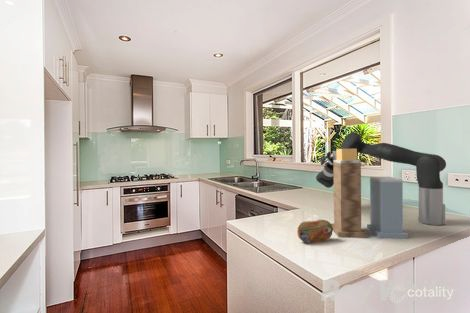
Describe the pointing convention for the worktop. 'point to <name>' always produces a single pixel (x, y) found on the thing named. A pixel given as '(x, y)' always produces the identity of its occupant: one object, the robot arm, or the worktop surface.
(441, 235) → the worktop surface
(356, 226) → the post
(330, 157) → the robot arm
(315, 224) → the tin
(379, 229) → the grey block stand
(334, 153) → the block
